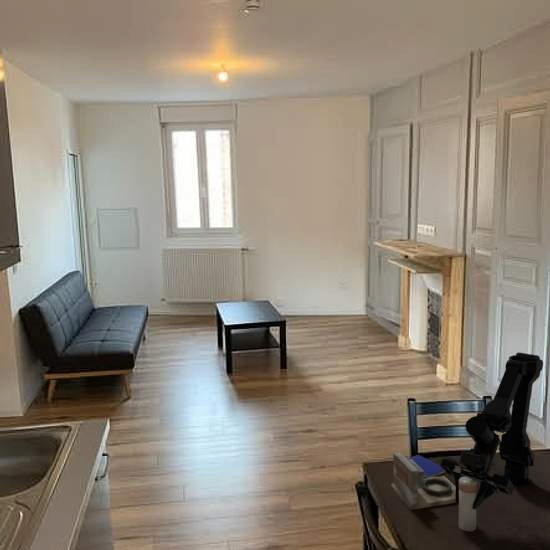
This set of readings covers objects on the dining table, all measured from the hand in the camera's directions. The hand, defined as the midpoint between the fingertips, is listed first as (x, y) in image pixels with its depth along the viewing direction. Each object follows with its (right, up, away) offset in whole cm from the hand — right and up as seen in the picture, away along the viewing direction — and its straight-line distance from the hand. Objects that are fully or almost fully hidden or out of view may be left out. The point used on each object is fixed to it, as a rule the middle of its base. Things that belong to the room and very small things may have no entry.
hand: (465, 505), depth 149 cm
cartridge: (+1, -6, +2) cm, 7 cm away
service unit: (-5, -4, +19) cm, 20 cm away
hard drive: (-2, -3, +35) cm, 35 cm away
